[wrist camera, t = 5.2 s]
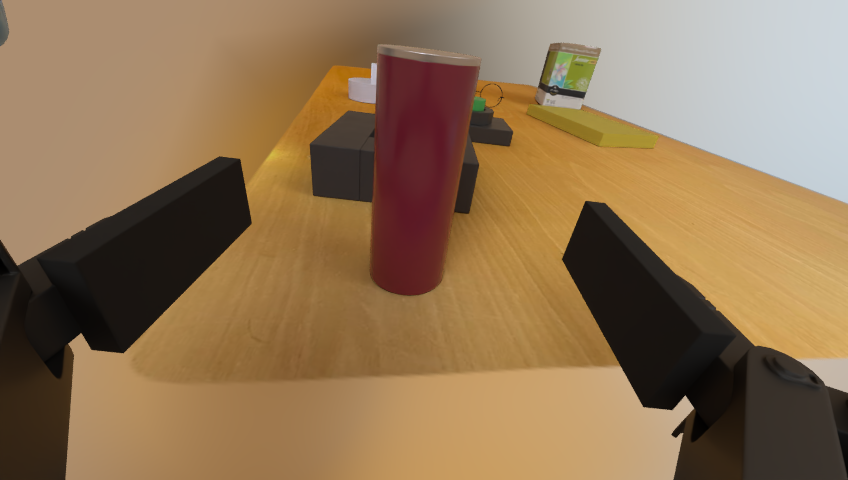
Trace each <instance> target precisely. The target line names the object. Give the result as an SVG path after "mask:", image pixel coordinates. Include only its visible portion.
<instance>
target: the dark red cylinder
mask: <svg viewBox="0 0 848 480" xmlns="http://www.w3.org/2000/svg"><path fill="white" fill-rule="evenodd" d="M480 64H481V58H479V57H476V56H471V55H465V54H459V53H452V52H446V51H439V50H432V49H424V48H415V47H407V46H397V45H384V44H379V45H378V49H377V77H376V106H375V134H374V163H373V191H372V220H371V248H370V275H371V277H372V279H373V280H374V282H375V283H376V284H377V285H379V286H380V287H381V288H383V289H385V290H387V291H389V292H392V293H396V294H401V295H419V294H423V293H426V292H429V291H431V290H433V289H434V288H436V287H437V286H438V285H439V283H440V282H441V280H442V276H443V270H444V265H445V259H446V254H447V248H448V242H449V237H450V231H451V226H452V220H453V215H454V209H455V203H456V198H457V192H458V187H459V181H460V176H461V170H462V165H463V159H464V153H465V148H466V142H467V137H468V131H469V126H470V120H471V115H472V109H473V103H474V98H475V92H476V87H477V81H478V75H479V70H480Z"/></svg>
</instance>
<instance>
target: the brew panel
mask: <svg viewBox="0 0 848 480" xmlns="http://www.w3.org/2000/svg"><path fill="white" fill-rule="evenodd" d="M493 113H494V111H493V110H492V109H490V108H487V107H484V111H474V110H472V115H471V120H470V126H469V131H468V132H469V135H470V139H471V142H479V143H487V144H495V145H503V146H510V143H511V139H512V135H513V131H512V130H511V128H510V127H509V126H508V125H507V123H506V122H505V121H504V119H502V118H494V117H493Z"/></svg>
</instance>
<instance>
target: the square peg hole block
mask: <svg viewBox="0 0 848 480" xmlns="http://www.w3.org/2000/svg"><path fill="white" fill-rule="evenodd" d="M374 134H375V114H371V113H363V112H355V111H347V112H346V113H345V114H344V115H343V116H342V117H340V118H339V119H338V120H337V121H336V122H335V123H333V124H332V125H331V126H330V127H329V128H328V129H326V130H325V131H324V132H323V133H322V134H321V135H319V136H318V137H317V138H316V139H315V140H314V141H312V142H311V143H310V155H311V170H312V185H313V195H314V196H322V197H331V198H340V199H348V200H357V201H359V200H360V201H366V202H372V191H373V163H374ZM478 168H479V163H478V160H477V157H476V154H475V151H474V148H473V145H472V142H471V139H470V135H469V132H468V137H467V142H466V148H465V153H464V159H463V165H462V170H461V176H460V181H459V187H458V192H457V198H456V203H455V209H454V212H461V213H469V211H470V206H471V202H472V197H473V192H474V187H475V182H476V177H477V173H478Z"/></svg>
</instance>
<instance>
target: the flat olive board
mask: <svg viewBox="0 0 848 480" xmlns="http://www.w3.org/2000/svg"><path fill="white" fill-rule="evenodd" d="M527 114H528V115H530V116H532V117H535V118H537V119H539V120H541V121H544V122H546V123H548V124H550V125H552V126H555V127H557V128H559V129H561V130H564V131H566V132H568V133H570V134H573V135H575V136H577V137H579V138H581V139H584V140H586V141H588V142H590V143H593V144H595V145H597V146H604V147H630V148H654V146H655V144H656V142H657V140H658V137H659V136H657V135H654V134H651V133H648V132H645V131H642V130H639V129H636V128H633V127H631V126H628V125H625V124H622V123H619V122H616V121H613V120H610V119H607V118H604V117H601V116H598V115H595V114H592V113H589V112H586V111H584V110H580V109H571V108H562V107H553V106H544V105H535V104H529V107H528V111H527Z"/></svg>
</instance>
